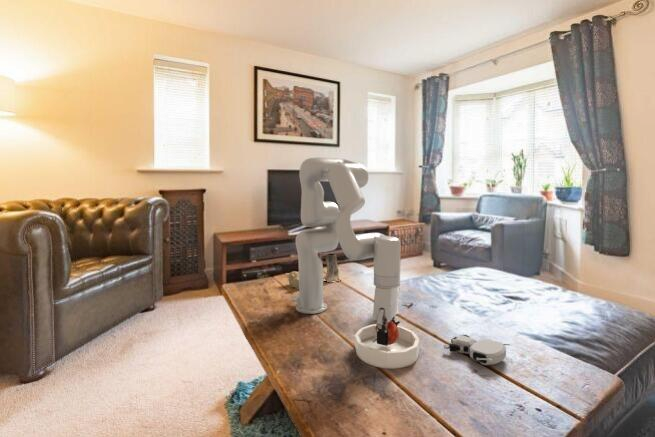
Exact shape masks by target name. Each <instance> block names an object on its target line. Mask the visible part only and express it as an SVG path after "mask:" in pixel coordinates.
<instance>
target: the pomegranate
mask: <svg viewBox="0 0 655 437" xmlns="http://www.w3.org/2000/svg"><path fill="white" fill-rule="evenodd" d="M383 320H387V319H385V318H383ZM400 323H401V321H400V320H398V321H395V322H392V321H390V322H389V323H388V330H387V331H388V345H391V344H393V343H395V342H396V341H397V340H398V338H399V329H398V327H397V326H399V324H400ZM385 324H386V323H383V325H384V326H385ZM375 330H376V331H377V325H376V328H375ZM376 340H377V339H376ZM376 340H374V341H373V342H375V341H376Z"/></svg>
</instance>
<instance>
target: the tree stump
mask: <svg viewBox="0 0 655 437" xmlns="http://www.w3.org/2000/svg"><path fill="white" fill-rule="evenodd" d="M337 259H338V258H337V254H336V253H328V254H326V257H325V263H326V273H325V275H324V276H323V279H325V280H326V281H327V282H326V283H332V281H338V280H340V279H339V277H340V276H339V271H340V270H339V267H338V260H337Z"/></svg>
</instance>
